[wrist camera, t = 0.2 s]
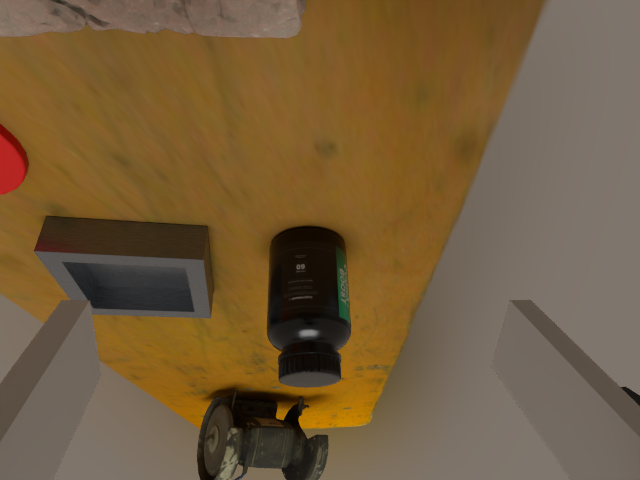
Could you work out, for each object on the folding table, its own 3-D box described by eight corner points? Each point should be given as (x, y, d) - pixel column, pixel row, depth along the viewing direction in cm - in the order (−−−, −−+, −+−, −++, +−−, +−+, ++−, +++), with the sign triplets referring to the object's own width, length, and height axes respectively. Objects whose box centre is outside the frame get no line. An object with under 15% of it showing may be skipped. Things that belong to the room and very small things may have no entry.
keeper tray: (46, 216, 36) (33, 251, 34) (207, 226, 38) (203, 259, 36) (89, 284, 46) (81, 313, 45) (213, 289, 48) (210, 318, 46)
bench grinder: (236, 395, 75) (199, 522, 72) (342, 413, 86) (315, 525, 82) (203, 368, 93) (172, 469, 89) (295, 386, 103) (270, 477, 100)
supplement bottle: (349, 225, 38) (360, 367, 32) (341, 264, 44) (348, 390, 38) (268, 224, 38) (263, 368, 31) (271, 263, 43) (266, 391, 37)
